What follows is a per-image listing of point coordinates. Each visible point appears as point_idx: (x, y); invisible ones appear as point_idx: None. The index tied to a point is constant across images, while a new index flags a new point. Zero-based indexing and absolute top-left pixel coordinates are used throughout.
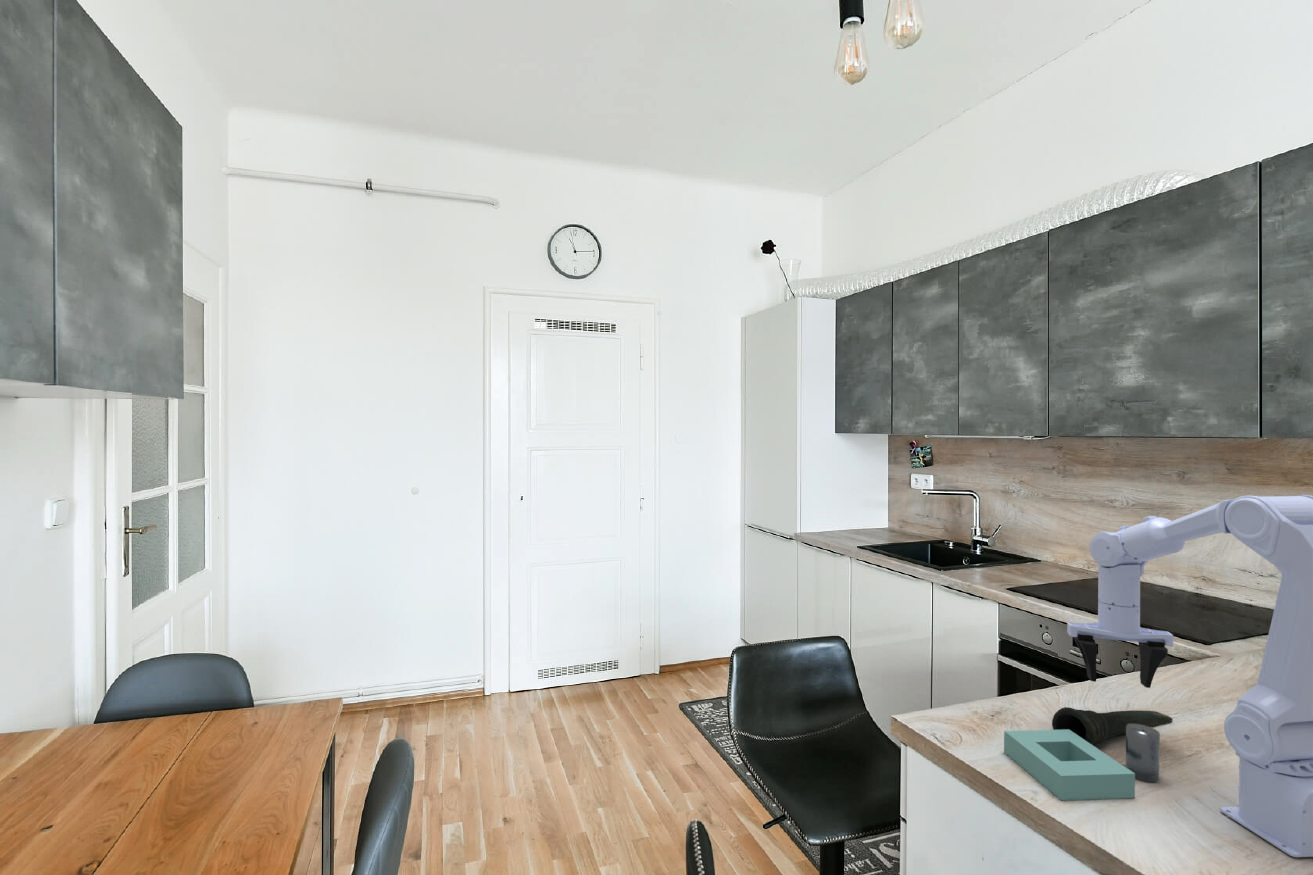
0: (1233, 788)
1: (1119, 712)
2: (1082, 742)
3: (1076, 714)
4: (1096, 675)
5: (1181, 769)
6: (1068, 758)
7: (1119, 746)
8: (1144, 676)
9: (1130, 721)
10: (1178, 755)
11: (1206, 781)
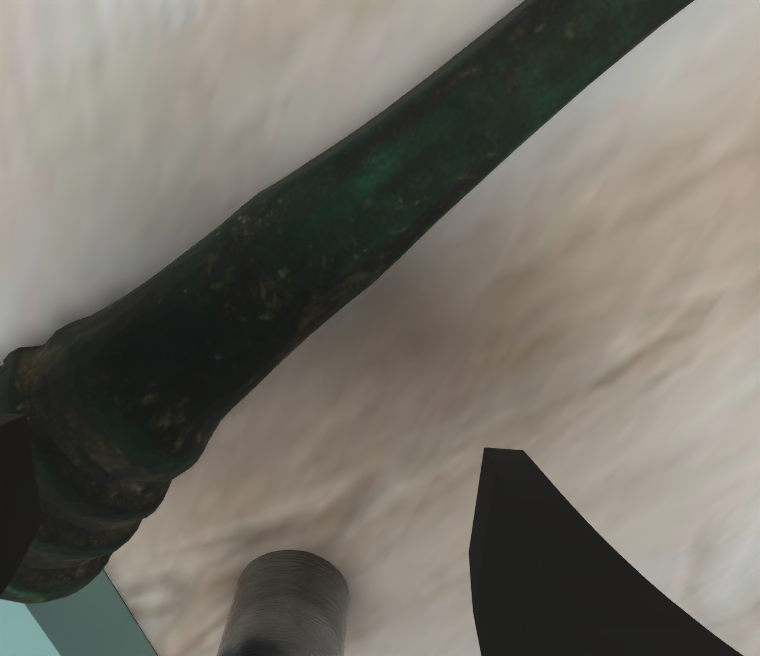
0: None
1: (364, 203)
2: (28, 651)
3: None
4: (6, 585)
5: None
6: None
7: (297, 366)
8: (490, 593)
9: (415, 241)
10: (556, 387)
11: None
